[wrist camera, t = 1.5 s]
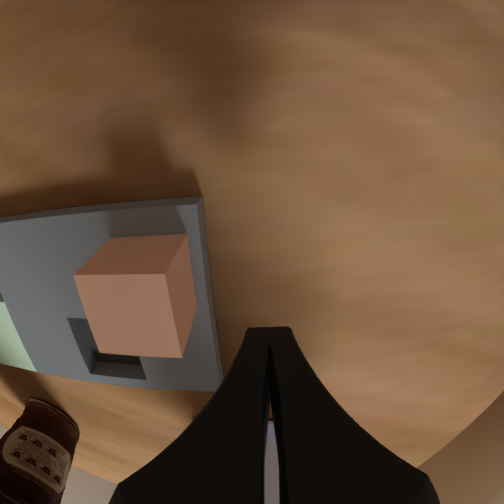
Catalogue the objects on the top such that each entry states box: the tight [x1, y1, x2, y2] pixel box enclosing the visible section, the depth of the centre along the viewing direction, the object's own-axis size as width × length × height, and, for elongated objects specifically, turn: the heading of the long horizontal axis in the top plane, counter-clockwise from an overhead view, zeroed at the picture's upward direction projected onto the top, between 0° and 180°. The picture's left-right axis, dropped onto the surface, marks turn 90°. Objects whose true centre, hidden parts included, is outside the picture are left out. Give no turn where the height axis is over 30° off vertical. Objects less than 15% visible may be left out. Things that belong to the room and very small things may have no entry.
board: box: [0, 196, 223, 392], centre depth 17 cm, size 12×22×3 cm, turn 93°
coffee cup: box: [0, 398, 80, 504], centre depth 19 cm, size 9×8×13 cm
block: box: [73, 234, 197, 358], centre depth 14 cm, size 4×4×4 cm
